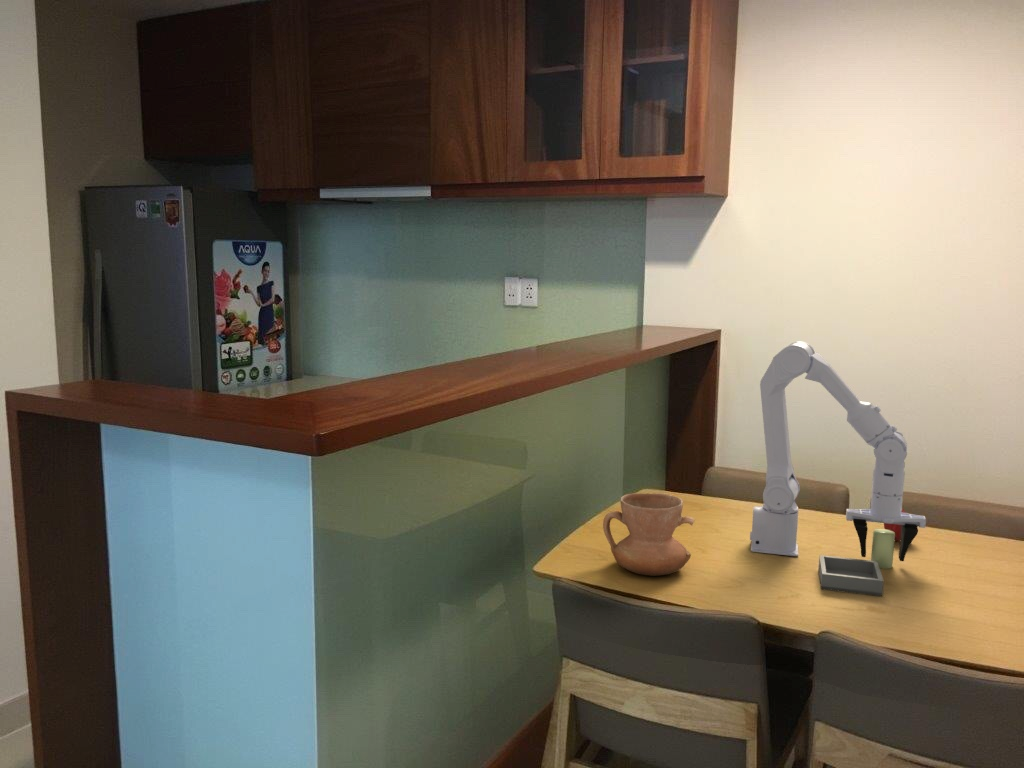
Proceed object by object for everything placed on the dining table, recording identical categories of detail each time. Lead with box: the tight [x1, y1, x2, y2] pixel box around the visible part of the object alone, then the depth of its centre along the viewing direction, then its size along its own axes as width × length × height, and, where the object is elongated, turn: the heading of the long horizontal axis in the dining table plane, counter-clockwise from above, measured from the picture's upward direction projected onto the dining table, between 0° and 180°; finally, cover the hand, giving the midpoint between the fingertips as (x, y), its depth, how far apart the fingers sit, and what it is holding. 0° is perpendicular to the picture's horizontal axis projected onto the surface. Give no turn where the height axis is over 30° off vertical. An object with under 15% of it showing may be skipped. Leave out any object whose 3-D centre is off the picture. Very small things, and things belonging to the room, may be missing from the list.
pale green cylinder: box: [870, 528, 895, 570], centre depth 169 cm, size 4×4×7 cm
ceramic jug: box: [602, 492, 696, 577], centre depth 166 cm, size 18×14×14 cm
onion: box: [883, 506, 907, 542], centre depth 184 cm, size 6×6×8 cm
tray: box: [818, 554, 885, 597], centre depth 160 cm, size 11×11×3 cm
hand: (882, 557), depth 170 cm, fingers open, 6 cm apart
